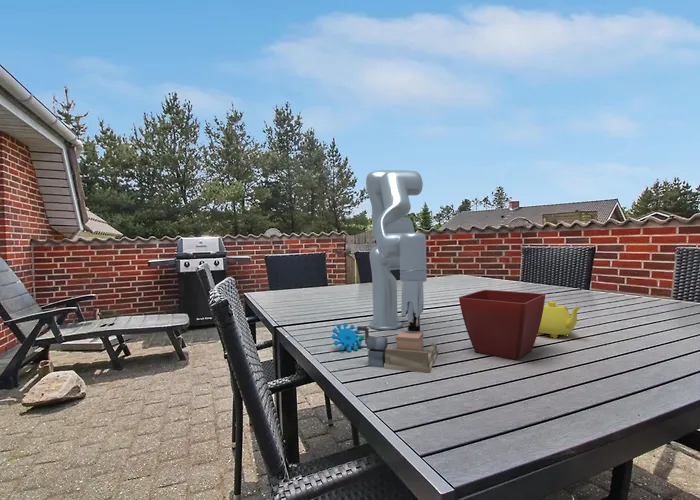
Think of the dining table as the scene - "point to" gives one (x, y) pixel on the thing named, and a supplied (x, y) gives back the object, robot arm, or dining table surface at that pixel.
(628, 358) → the dining table surface
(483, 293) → the plant pot
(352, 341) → the gear
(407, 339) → the pink-tan cube
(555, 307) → the teapot
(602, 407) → the dining table surface
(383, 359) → the bay
